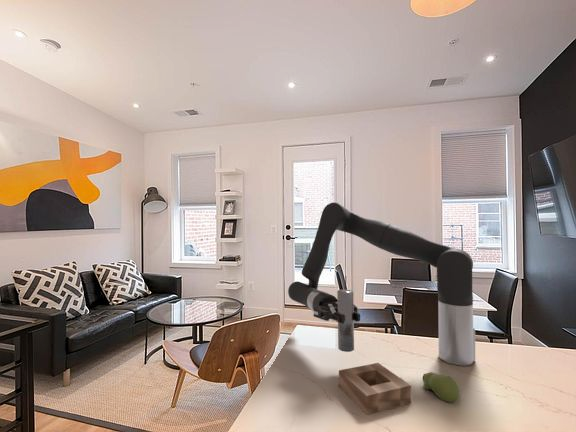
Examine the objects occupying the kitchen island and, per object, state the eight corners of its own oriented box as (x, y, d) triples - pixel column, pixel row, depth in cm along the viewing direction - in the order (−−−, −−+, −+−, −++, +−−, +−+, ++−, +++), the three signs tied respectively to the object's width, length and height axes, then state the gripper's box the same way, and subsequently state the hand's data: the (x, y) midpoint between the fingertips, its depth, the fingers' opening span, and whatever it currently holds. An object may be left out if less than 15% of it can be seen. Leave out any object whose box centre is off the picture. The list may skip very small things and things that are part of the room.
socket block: (378, 377, 82) (378, 362, 82) (410, 402, 71) (410, 385, 71) (338, 386, 78) (338, 370, 78) (366, 414, 67) (366, 395, 67)
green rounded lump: (443, 381, 70) (415, 368, 79) (446, 407, 69) (418, 391, 78) (464, 378, 71) (434, 366, 80) (467, 403, 70) (436, 388, 80)
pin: (348, 344, 89) (347, 289, 89) (357, 350, 85) (356, 292, 85) (335, 346, 88) (334, 290, 88) (343, 352, 83) (342, 293, 84)
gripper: (302, 294, 97) (327, 308, 81) (341, 290, 102) (372, 302, 86) (302, 318, 97) (328, 336, 81) (341, 312, 102) (373, 329, 86)
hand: (350, 318), depth 84 cm, fingers closed on pin, 4 cm apart
